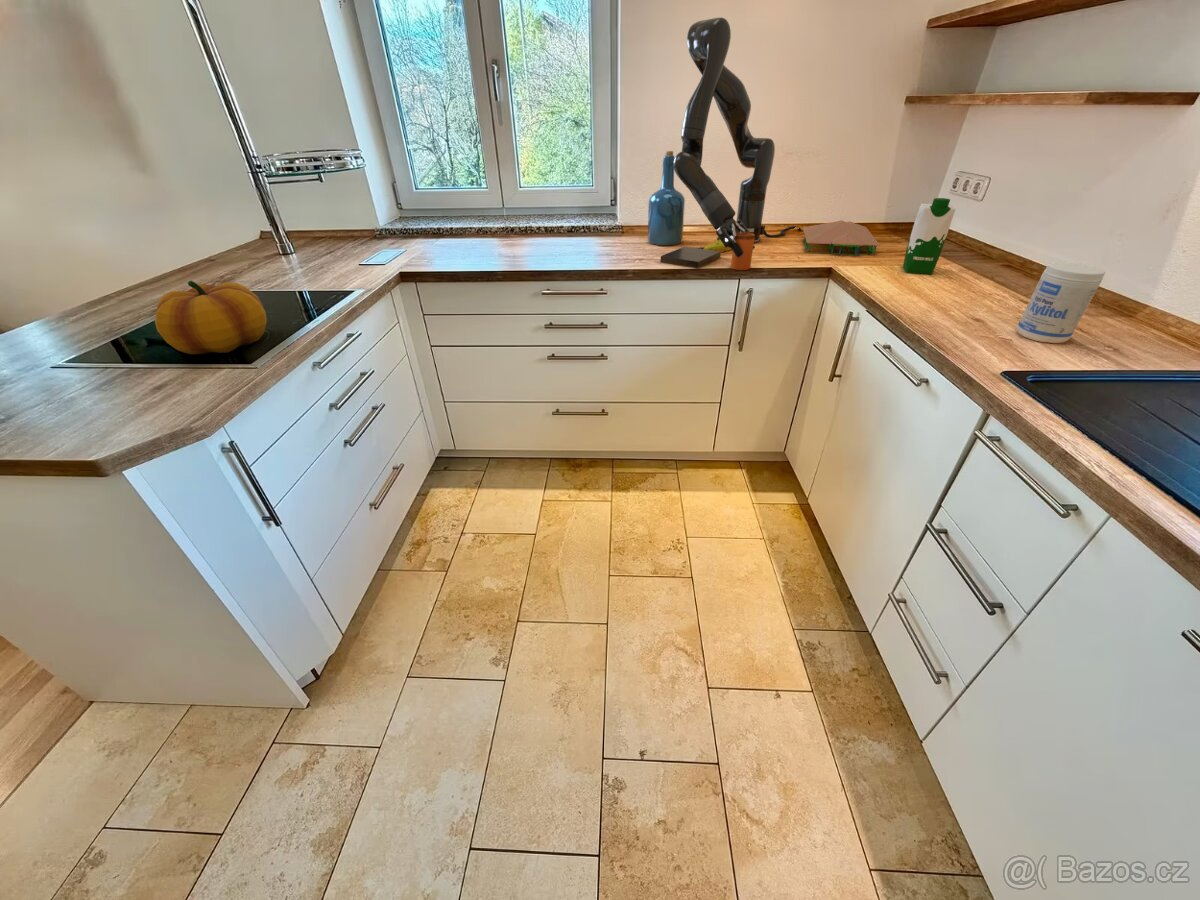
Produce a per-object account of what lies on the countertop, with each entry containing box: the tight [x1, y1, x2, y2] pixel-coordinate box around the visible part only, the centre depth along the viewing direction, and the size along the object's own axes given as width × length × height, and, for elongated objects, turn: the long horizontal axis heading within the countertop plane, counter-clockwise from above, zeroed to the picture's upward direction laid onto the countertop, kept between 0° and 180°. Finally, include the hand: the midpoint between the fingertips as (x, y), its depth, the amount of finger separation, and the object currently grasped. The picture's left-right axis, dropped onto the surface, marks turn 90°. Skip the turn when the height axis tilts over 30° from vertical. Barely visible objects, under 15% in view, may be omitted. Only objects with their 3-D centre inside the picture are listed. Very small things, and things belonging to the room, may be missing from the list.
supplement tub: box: [1016, 261, 1106, 344], centre depth 107 cm, size 10×10×15 cm
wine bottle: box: [647, 150, 686, 246], centre depth 185 cm, size 14×13×30 cm
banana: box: [698, 236, 732, 253], centre depth 184 cm, size 5×17×15 cm
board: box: [660, 246, 722, 269], centre depth 171 cm, size 16×14×2 cm
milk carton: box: [902, 197, 956, 275], centre depth 149 cm, size 9×9×20 cm
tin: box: [730, 232, 755, 271], centre depth 159 cm, size 6×6×10 cm
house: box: [802, 220, 881, 257], centre depth 181 cm, size 23×33×8 cm
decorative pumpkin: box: [154, 280, 268, 355], centre depth 113 cm, size 20×22×15 cm
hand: (746, 252), depth 159 cm, fingers open, 8 cm apart
